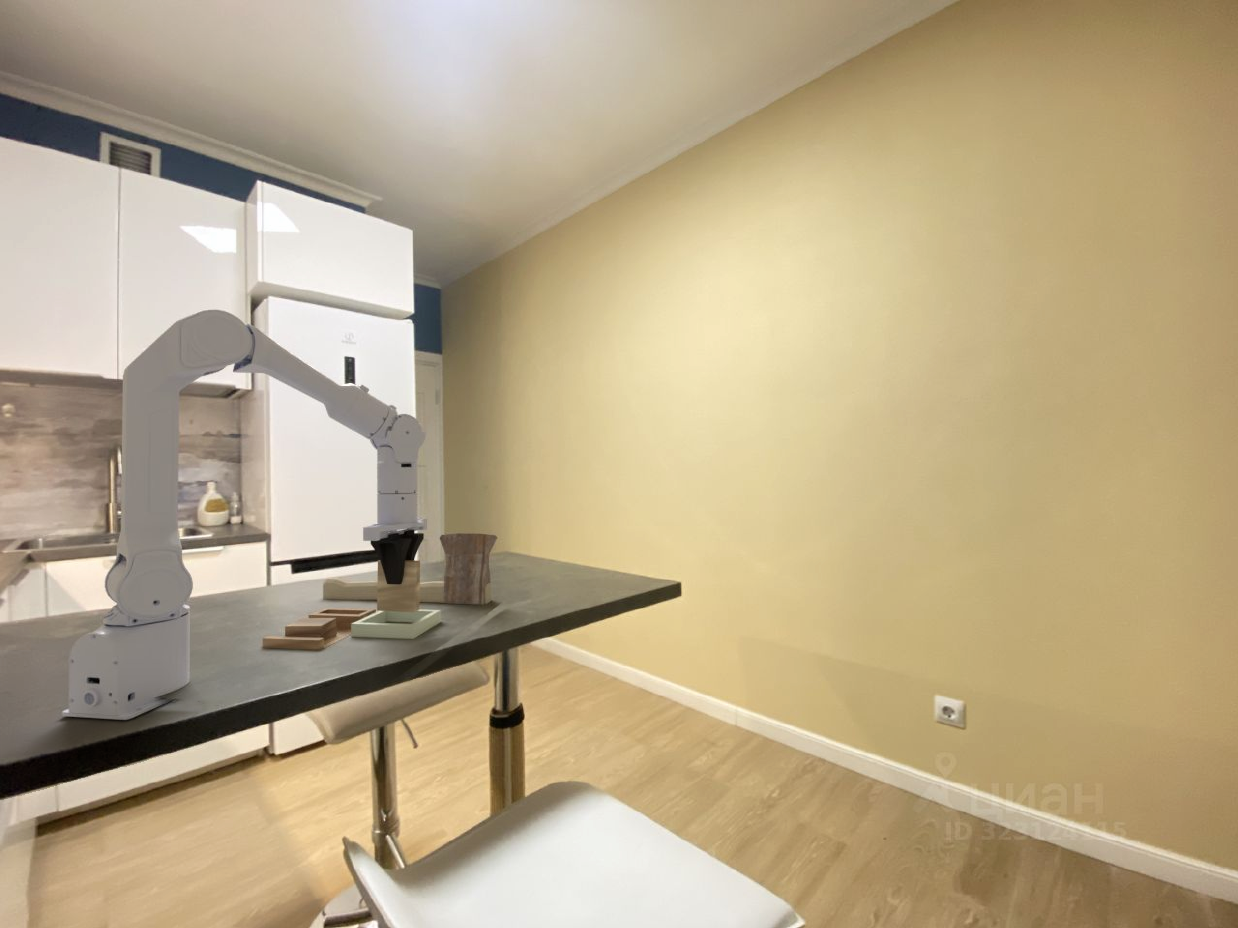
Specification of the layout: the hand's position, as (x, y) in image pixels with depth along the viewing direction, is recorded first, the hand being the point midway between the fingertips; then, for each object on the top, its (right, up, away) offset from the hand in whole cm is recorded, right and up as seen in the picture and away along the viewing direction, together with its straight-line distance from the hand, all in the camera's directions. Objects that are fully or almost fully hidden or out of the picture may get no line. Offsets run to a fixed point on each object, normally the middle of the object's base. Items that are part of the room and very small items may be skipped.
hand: (398, 582), depth 81 cm
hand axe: (-6, -9, +18) cm, 21 cm away
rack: (-10, -8, -2) cm, 13 cm away
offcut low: (-10, -7, -5) cm, 13 cm away
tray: (0, -8, 0) cm, 8 cm away
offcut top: (-11, -6, -5) cm, 13 cm away
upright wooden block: (0, -4, 0) cm, 4 cm away
